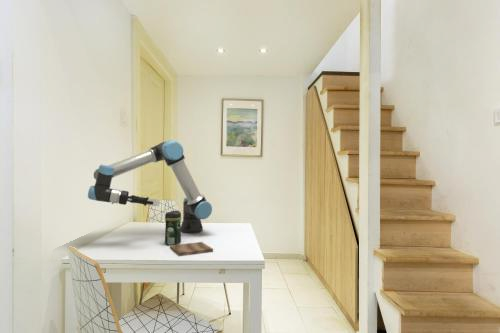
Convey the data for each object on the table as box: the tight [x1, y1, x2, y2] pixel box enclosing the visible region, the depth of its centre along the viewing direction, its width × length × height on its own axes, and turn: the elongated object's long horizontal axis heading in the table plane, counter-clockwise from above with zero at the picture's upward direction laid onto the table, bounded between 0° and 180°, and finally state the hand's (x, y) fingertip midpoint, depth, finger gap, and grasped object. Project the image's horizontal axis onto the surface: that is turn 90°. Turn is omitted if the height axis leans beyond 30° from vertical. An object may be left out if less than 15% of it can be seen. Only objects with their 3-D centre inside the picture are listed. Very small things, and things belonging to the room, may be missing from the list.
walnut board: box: [169, 241, 214, 257], centre depth 159 cm, size 18×16×2 cm
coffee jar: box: [164, 210, 182, 246], centre depth 172 cm, size 10×8×19 cm
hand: (159, 203), depth 171 cm, fingers open, 13 cm apart
